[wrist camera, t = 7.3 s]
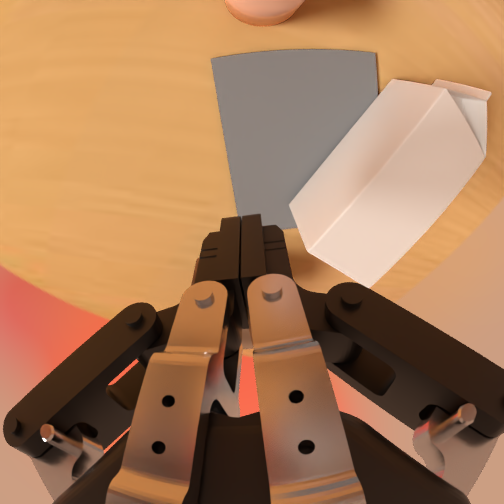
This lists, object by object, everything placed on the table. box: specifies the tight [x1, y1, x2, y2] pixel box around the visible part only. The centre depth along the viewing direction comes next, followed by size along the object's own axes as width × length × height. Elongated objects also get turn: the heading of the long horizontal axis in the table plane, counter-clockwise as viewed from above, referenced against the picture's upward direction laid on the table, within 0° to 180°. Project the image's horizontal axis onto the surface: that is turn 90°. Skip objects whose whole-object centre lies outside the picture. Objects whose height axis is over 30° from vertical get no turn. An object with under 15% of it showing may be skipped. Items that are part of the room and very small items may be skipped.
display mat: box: [211, 49, 378, 230], centre depth 21 cm, size 16×13×1 cm
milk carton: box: [289, 79, 491, 288], centre depth 18 cm, size 7×7×19 cm
